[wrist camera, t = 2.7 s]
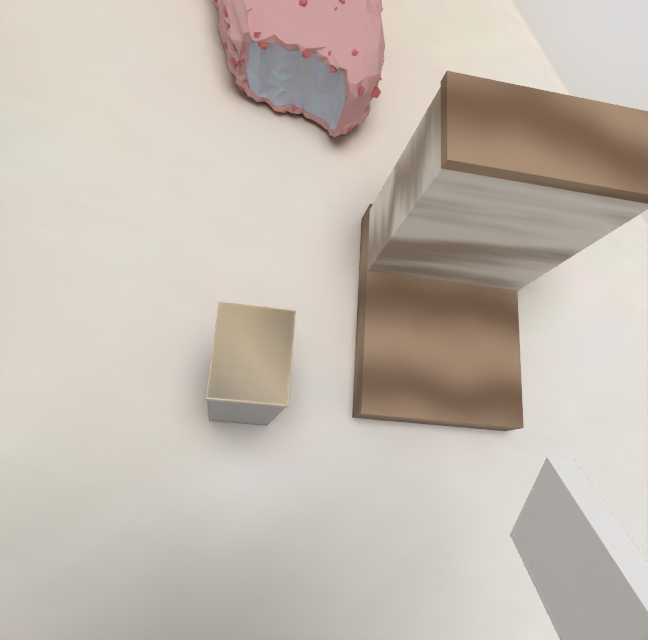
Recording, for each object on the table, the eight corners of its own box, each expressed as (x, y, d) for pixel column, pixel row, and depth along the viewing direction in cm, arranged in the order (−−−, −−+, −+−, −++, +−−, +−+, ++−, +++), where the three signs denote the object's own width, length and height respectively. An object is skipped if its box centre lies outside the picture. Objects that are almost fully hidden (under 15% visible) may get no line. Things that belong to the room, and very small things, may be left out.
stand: (506, 431, 41) (698, 398, 25) (351, 417, 39) (448, 372, 23) (500, 239, 46) (657, 107, 30) (360, 218, 44) (447, 64, 28)
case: (267, 426, 38) (288, 405, 28) (208, 421, 37) (206, 398, 27) (274, 355, 39) (295, 310, 29) (217, 349, 39) (218, 301, 28)
